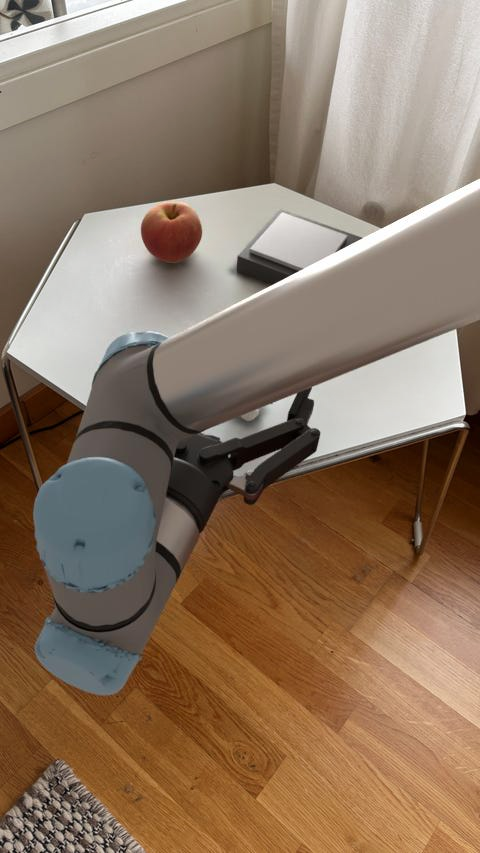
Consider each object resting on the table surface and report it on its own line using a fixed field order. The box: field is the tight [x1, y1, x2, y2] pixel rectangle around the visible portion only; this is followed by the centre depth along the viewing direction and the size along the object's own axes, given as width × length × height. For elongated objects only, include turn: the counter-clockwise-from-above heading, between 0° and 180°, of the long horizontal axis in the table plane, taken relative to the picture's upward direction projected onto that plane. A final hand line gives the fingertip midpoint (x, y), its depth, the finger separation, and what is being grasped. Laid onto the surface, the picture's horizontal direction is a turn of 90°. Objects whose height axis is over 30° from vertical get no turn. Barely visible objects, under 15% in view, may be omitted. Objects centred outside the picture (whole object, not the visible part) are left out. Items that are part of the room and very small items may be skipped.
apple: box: [140, 201, 203, 264], centre depth 93 cm, size 8×8×8 cm
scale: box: [235, 208, 364, 286], centre depth 96 cm, size 14×13×3 cm
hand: (249, 358), depth 75 cm, fingers open, 13 cm apart
